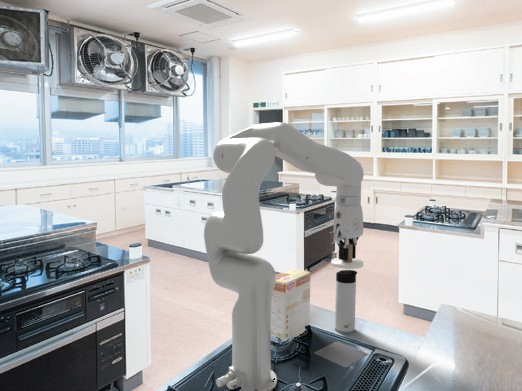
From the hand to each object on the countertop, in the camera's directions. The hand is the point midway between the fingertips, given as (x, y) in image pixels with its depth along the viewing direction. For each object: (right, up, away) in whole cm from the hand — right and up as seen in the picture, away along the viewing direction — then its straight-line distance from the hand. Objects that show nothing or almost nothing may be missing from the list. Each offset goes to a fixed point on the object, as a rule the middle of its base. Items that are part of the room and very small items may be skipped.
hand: (347, 258), depth 127 cm
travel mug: (0, -24, +2) cm, 24 cm away
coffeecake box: (-19, -24, -1) cm, 31 cm away
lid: (0, -2, 0) cm, 2 cm away
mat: (-5, -25, -14) cm, 29 cm away
